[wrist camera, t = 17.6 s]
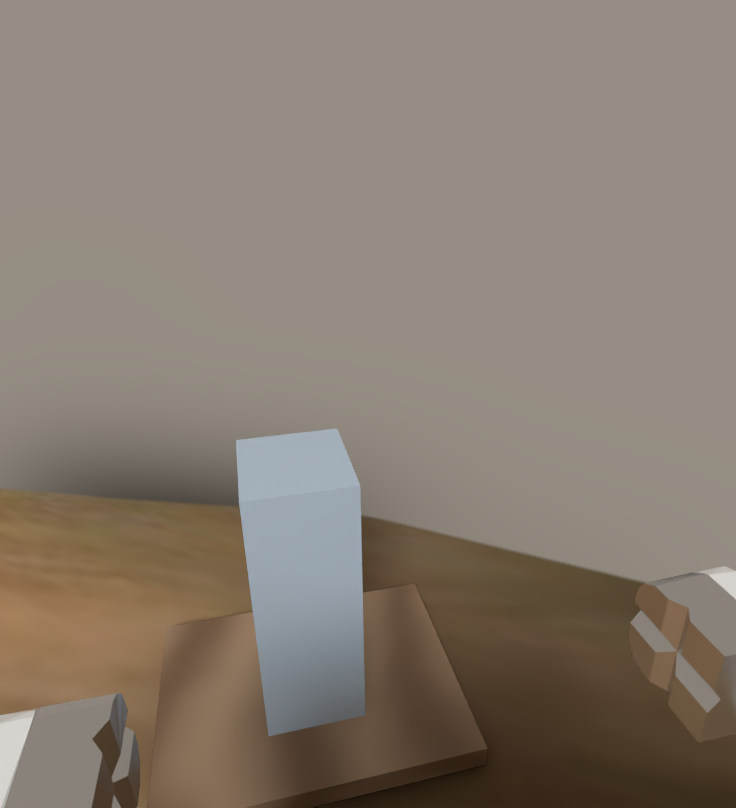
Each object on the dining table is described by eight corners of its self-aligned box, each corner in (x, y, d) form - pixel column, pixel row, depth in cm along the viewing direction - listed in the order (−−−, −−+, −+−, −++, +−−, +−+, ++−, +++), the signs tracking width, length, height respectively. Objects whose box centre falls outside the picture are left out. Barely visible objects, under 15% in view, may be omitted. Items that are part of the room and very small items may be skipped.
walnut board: (414, 597, 40) (414, 583, 39) (486, 764, 29) (487, 748, 28) (169, 641, 36) (166, 626, 36) (149, 848, 26) (144, 831, 25)
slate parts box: (344, 633, 35) (336, 426, 29) (365, 715, 30) (360, 485, 24) (261, 648, 34) (235, 438, 28) (268, 736, 29) (239, 502, 23)
